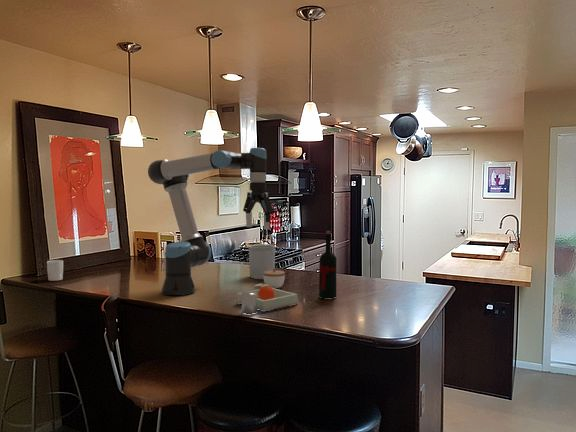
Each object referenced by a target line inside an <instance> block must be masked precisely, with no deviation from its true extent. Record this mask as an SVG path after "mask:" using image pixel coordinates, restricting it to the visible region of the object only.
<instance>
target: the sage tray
mask: <svg viewBox="0 0 576 432" xmlns="http://www.w3.org/2000/svg"><path fill="white" fill-rule="evenodd" d="M272 289H273V290H274V293H275V295H274V298H273V299H268V300H262V299H260V298H259V296H258V292H259V290H260V289H258V290H254V289H253V290H248V291H247V292H256V293H257V309H260V310H268V309H272V308H278V307H282V306H286V305H291V304H296V303H297V304H298V294H297V293H294V292H291V291H285V290H282V289H280V288H279V289H275V288H272ZM243 292H244V291H243ZM243 292H237V303H238V302H239V303H242V293H243Z"/></svg>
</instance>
